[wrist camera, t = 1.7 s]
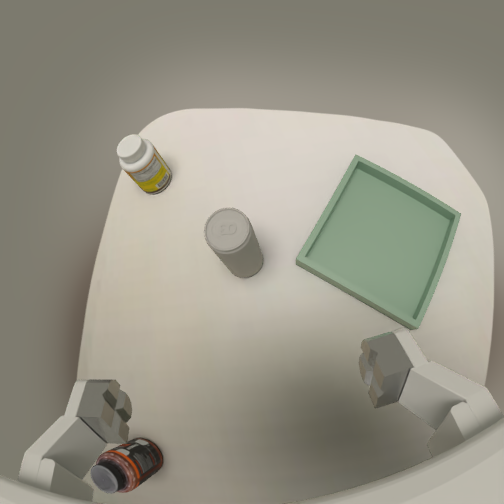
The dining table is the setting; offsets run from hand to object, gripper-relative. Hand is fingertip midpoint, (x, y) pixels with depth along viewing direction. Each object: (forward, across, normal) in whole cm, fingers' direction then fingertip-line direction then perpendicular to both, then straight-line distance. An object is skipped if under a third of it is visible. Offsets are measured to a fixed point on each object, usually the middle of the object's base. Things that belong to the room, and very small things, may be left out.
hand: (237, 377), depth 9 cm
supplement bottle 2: (+12, +19, +32) cm, 39 cm away
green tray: (+27, -19, +13) cm, 36 cm away
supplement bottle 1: (+43, +12, +4) cm, 44 cm away
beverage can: (+30, 0, +14) cm, 33 cm away
